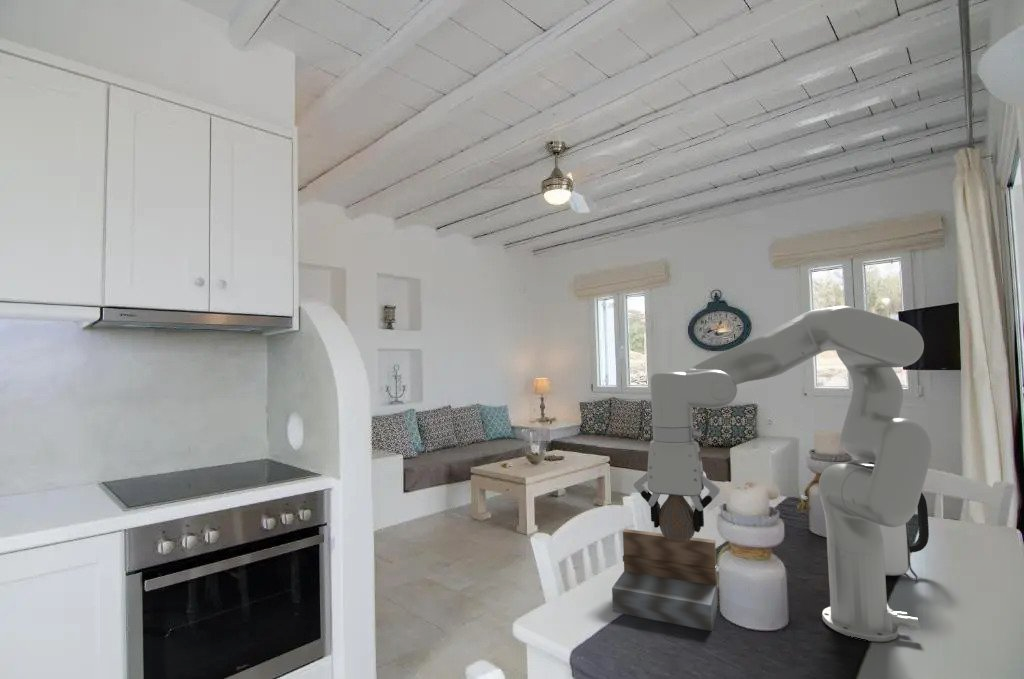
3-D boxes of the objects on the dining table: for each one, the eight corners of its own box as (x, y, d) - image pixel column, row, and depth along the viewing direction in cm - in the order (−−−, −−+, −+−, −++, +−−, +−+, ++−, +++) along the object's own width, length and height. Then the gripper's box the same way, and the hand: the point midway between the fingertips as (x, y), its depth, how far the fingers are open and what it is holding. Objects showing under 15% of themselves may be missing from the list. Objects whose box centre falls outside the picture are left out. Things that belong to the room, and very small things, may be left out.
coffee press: (915, 593, 116) (907, 458, 118) (835, 573, 128) (828, 451, 130) (932, 571, 128) (924, 449, 129) (856, 554, 140) (850, 443, 141)
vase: (699, 546, 96) (697, 498, 96) (660, 544, 97) (658, 497, 98) (694, 534, 102) (692, 489, 103) (658, 532, 104) (656, 488, 104)
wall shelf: (718, 605, 113) (715, 540, 113) (712, 631, 102) (708, 558, 103) (627, 589, 122) (625, 529, 122) (612, 611, 111) (610, 545, 112)
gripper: (722, 433, 100) (727, 527, 99) (633, 431, 108) (637, 517, 107) (718, 439, 94) (724, 539, 93) (623, 436, 101) (627, 528, 101)
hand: (677, 527), depth 100 cm, fingers closed on vase, 7 cm apart
